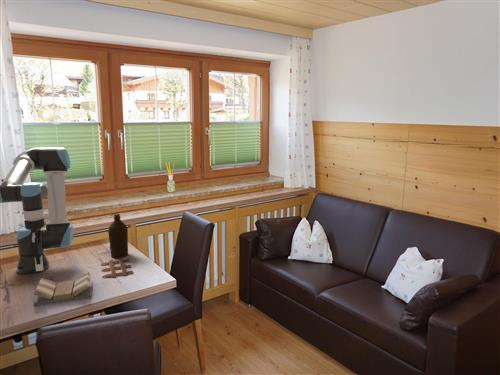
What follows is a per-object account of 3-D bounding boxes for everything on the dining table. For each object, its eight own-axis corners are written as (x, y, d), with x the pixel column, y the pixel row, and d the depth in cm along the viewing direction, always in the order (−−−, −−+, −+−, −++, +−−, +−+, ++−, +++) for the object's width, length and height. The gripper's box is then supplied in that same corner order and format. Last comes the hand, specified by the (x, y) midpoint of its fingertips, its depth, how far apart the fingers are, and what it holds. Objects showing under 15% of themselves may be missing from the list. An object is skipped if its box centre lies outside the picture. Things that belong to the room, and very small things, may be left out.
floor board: (39, 292, 179) (38, 285, 179) (92, 284, 187) (92, 278, 186) (33, 306, 166) (33, 298, 166) (91, 297, 174) (90, 290, 173)
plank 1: (39, 281, 178) (41, 277, 178) (54, 286, 181) (56, 282, 181) (33, 294, 166) (36, 290, 166) (50, 299, 168) (52, 295, 168)
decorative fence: (128, 260, 220) (100, 264, 214) (128, 257, 219) (100, 261, 213) (133, 275, 199) (102, 280, 193) (133, 272, 198) (102, 277, 193)
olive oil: (133, 253, 228) (130, 212, 223) (121, 259, 218) (118, 217, 214) (118, 251, 232) (115, 210, 227) (106, 257, 222) (102, 215, 217)
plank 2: (77, 283, 184) (75, 280, 183) (90, 274, 185) (88, 271, 185) (75, 296, 172) (72, 292, 171) (89, 286, 173) (86, 283, 172)
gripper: (27, 215, 171) (33, 265, 176) (20, 223, 159) (27, 277, 164) (46, 214, 174) (51, 263, 178) (41, 221, 162) (46, 274, 166)
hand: (39, 270), depth 171 cm, fingers closed
